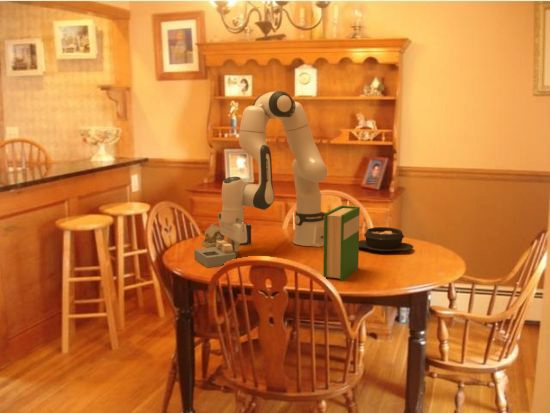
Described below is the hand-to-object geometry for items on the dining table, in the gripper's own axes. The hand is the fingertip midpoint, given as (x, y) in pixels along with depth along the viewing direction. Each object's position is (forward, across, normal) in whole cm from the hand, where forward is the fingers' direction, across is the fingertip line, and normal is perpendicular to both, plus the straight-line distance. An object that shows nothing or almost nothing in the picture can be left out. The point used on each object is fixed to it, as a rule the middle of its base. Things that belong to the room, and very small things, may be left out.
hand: (233, 249), depth 239 cm
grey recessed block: (+3, -4, +10) cm, 11 cm away
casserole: (+3, -22, -61) cm, 65 cm away
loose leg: (+3, 0, 0) cm, 3 cm away
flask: (+3, +16, -11) cm, 20 cm away
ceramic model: (+3, +21, 0) cm, 21 cm away
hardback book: (+3, -42, -25) cm, 49 cm away
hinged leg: (-1, -3, +6) cm, 7 cm away
